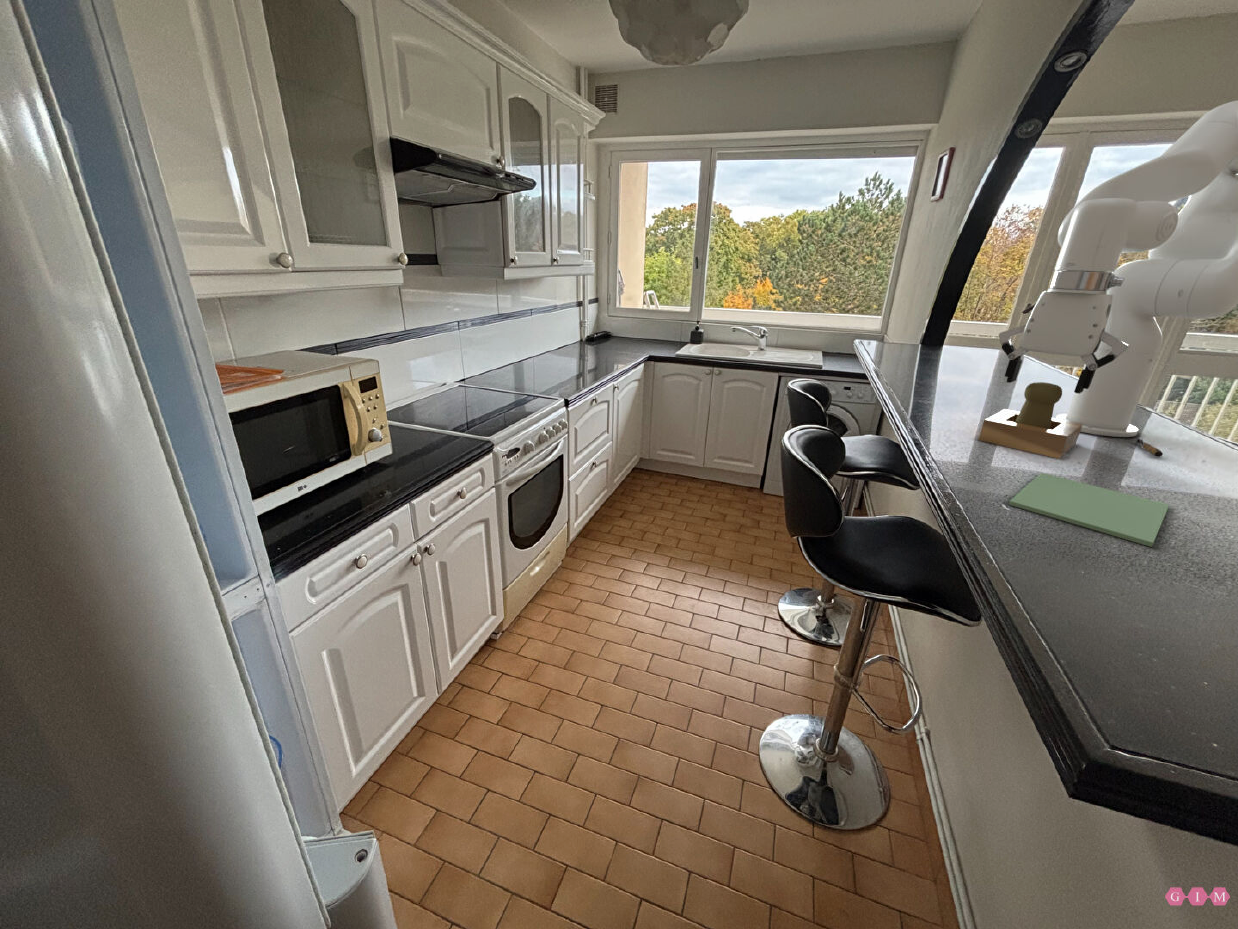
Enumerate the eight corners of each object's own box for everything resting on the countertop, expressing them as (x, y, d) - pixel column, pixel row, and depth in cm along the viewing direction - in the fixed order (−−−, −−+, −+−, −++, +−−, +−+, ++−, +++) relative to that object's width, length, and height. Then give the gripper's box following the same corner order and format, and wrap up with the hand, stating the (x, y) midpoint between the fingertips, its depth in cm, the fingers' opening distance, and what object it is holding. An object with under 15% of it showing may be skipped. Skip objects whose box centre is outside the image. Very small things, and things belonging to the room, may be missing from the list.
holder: (998, 428, 101) (1004, 408, 99) (1075, 444, 92) (1083, 423, 91) (978, 440, 94) (984, 419, 92) (1059, 458, 85) (1067, 436, 84)
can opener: (1161, 458, 86) (1164, 451, 85) (1143, 455, 87) (1146, 449, 86) (1146, 444, 93) (1149, 438, 92) (1129, 441, 94) (1132, 435, 94)
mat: (1040, 476, 78) (1041, 472, 78) (1167, 508, 68) (1169, 504, 68) (1008, 504, 68) (1009, 500, 68) (1151, 547, 59) (1153, 542, 58)
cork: (1054, 449, 90) (1076, 388, 86) (1016, 446, 91) (1036, 386, 87) (1035, 438, 95) (1055, 380, 91) (1000, 435, 96) (1018, 378, 92)
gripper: (1155, 286, 79) (1112, 394, 85) (1022, 281, 91) (992, 376, 97) (1149, 286, 74) (1104, 400, 81) (1009, 281, 87) (979, 380, 93)
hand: (1043, 386), depth 89 cm, fingers open, 9 cm apart
